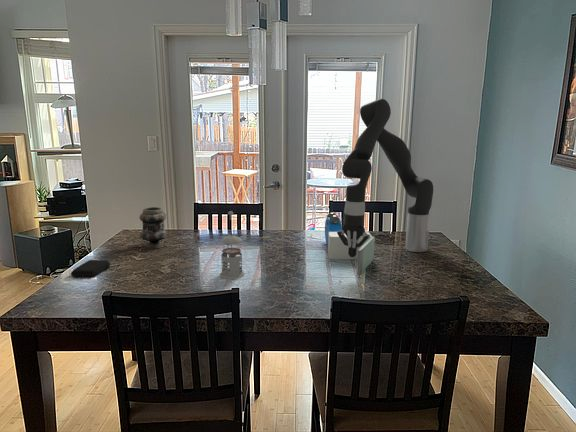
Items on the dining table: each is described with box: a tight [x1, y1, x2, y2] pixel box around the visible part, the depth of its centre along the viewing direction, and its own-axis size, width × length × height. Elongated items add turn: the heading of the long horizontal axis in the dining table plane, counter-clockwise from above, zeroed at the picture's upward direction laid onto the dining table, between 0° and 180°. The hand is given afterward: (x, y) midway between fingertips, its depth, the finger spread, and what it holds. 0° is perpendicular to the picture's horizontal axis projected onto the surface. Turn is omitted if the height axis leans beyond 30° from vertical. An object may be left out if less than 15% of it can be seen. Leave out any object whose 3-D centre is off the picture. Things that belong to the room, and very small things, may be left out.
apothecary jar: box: [139, 206, 168, 250], centre depth 198 cm, size 12×12×18 cm
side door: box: [356, 235, 376, 277], centre depth 171 cm, size 22×1×10 cm, turn 155°
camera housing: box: [327, 231, 373, 260], centre depth 185 cm, size 18×8×12 cm, turn 88°
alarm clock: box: [324, 211, 343, 246], centre depth 202 cm, size 13×6×15 cm, turn 5°
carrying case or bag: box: [70, 259, 111, 279], centre depth 166 cm, size 11×3×15 cm
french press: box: [219, 210, 246, 280], centre depth 162 cm, size 10×12×25 cm
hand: (352, 256), depth 163 cm, fingers closed
